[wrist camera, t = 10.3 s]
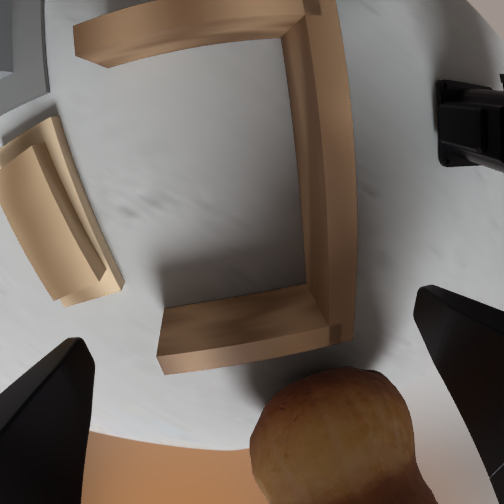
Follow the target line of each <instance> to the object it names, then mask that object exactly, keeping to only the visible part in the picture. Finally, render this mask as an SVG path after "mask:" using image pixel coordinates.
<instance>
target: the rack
mask: <svg viewBox="0 0 504 504" xmlns="http://www.w3.org/2000/svg"><path fill="white" fill-rule="evenodd" d="M73 33H74V46H75V56H77V57H80V58H83V59H86V60H88V61H91V62H93V63H96V64H99V65H101V66H104V67H106V68H110V67H114V66H117V65H120V64H124V63H127V62H131V61H135V60H138V59H142V58H146V57H150V56H155V55H159V54H163V53H168V52H173V51H178V50H183V49H188V48H194V47H200V46H206V45H212V44H219V43H227V42H235V41H245V40H255V39H269V38H281V41H282V48H283V55H284V61H285V68H286V75H287V83H288V90H289V98H290V106H291V114H292V122H293V131H294V139H295V149H296V158H297V168H298V178H299V189H300V200H301V212H302V225H303V238H304V252H305V268H306V284H301V285H296V286H291V287H286V288H281V289H276V290H270V291H265V292H260V293H254V294H249V295H243V296H237V297H232V298H226V299H220V300H214V301H208V302H202V303H196V304H190V305H184V306H178V307H171V308H165V309H164V313H163V319H162V325H161V331H160V337H159V343H158V349H157V356H156V357H157V359H158V362H159V364H160V366H161V368H162V371H163V373H164V375H168V374H177V373H185V372H193V371H200V370H207V369H214V368H220V367H227V366H233V365H239V364H245V363H250V362H256V361H261V360H266V359H272V358H277V357H282V356H286V355H291V354H296V353H300V352H305V351H309V350H314V349H318V348H322V347H326V346H330V345H334V344H338V343H342V342H346V341H350V340H353V331H354V316H355V298H356V274H357V190H356V166H355V148H354V134H353V122H352V111H351V101H350V91H349V83H348V75H347V67H346V60H345V53H344V46H343V40H342V34H341V28H340V22H339V17H338V11H337V6H336V1H335V0H155V1H151V2H147V3H143V4H139V5H135V6H132V7H128V8H125V9H121V10H118V11H114V12H111V13H108V14H105V15H102V16H99V17H96V18H93V19H91V20H88V21H85V22H82V23H80V24H77V25H75V26H73Z"/></svg>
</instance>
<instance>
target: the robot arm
mask: <svg viewBox="0 0 504 504" xmlns="http://www.w3.org/2000/svg"><path fill="white" fill-rule="evenodd" d="M499 75H500V80H501V83H503V89H504V74H499ZM442 84H443V85H444V88H443V87H442ZM436 87H437V99H438V115H439V147H440V163H441V165H442V166H445V167H458V166H478V165H483V166H486V167H489V168H492V169H494V170H497V171H500V172H503V173H504V91H497V90H493V89H492V88H490V87H485V86H480V85H474V84H469V83H463V82H457V81H451V80H438V81H437V83H436ZM446 158H447V160H446V162H445V159H446ZM413 316H414V320H415V322H416V325H417V327H418V329H419V331H420V333H421V336H422V338H423V340H424V342H425V344H426V347H427V349H428V351H429V354H430V356H431V358H432V360H433V362H434V364H435V366H436V368H437V370H438V372H439V374H440V375H441V377H442V379H443V381H444V383H445V385H446V386H447V389H448V390H449V392H450V394H451V396H452V398H453V400H454V402H455V404H456V406H457V408H458V410H459V412H460V414H461V416H462V418H463V420H464V422H465V424H466V426H467V428H468V430H469V432H470V435H471V437H472V439H473V441H474V443H475V445H476V448H477V450H478V452H479V454H480V457H481V459H482V461H483V463H484V466H485V468H486V471H487V473H488V476H489V477H490V481H491V483H492V486H493V489H494V491H495V494H496V496H497V499H498V502H499V504H504V311H501V310H499V309H496V308H493V307H491V306H488V305H486V304H483V303H480V302H478V301H475V300H473V299H470V298H467V297H465V296H462V295H459V294H457V293H454V292H451V291H449V290H446V289H443V288H440V287H438V286H435V285H427V286H423V287H420V288H419V290H418V292H417V297H416V302H415V307H414V312H413ZM94 375H95V363H94V360H93V358H92V356H91V354H90V352H89V350H88V348H87V346H86V344H85V342H84V340H83V339H82V338H80V337H75V338H67V339H66V340H65V341H63V342H62V343H61V344H60V345H58V346H57V347H56V348H55V349H53V350H52V351H51V352H50V353H48V354H47V355H46V356H45V357H44V358H42V359H41V360H40V361H39V362H37V363H36V364H35V365H34V366H33V367H31V368H30V369H29V370H28V371H27V372H25V373H24V374H23V375H22V376H21V377H19V378H18V379H17V380H16V381H15V382H14V383H12V384H11V385H10V386H9V387H8V388H7V389H5V390H4V391H3V392H2V393H1V394H0V504H81V494H82V483H83V473H84V464H85V456H86V448H87V440H88V434H89V428H90V421H91V413H92V399H93V386H94Z"/></svg>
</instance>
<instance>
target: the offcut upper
mask: <svg viewBox="0 0 504 504" xmlns="http://www.w3.org/2000/svg"><path fill="white" fill-rule="evenodd" d="M0 204H1V207H2V209H3V211H4V213H5V215H6V217H7V219H8V221H9V223H10V226H11V228H12V230H13V231H14V233H15V235H16V237H17V239H18V241H19V243H20V245H21V247H22V249H23V250H24V252H25V254H26V256H27V258H28V259H29V261H30V263H31V265H32V266H33V268H34V270H35V272H36V273H37V275H38V277H39V278H40V280H41V281H42V283H43V285H44V286H45V288H46V289H47V291H48V293H49V294H50V296H51V297H52V299H53V300H54V301H55V300H57V299H60V298H62V297H64V296H67V295H69V294H72V293H74V292H76V291H79V290H81V289H84V288H86V287H88V286H91V285H93V284H96V283H98V282H100V280H101V278H102V276H103V275H104V273H105V271H106V268H105V266H104V264H103V263H102V261H101V259H100V257H99V255H98V254H97V252H96V250H95V248H94V246H93V244H92V243H91V241H90V239H89V237H88V235H87V233H86V231H85V229H84V227H83V225H82V223H81V221H80V219H79V217H78V215H77V213H76V211H75V209H74V207H73V205H72V203H71V201H70V199H69V197H68V195H67V193H66V190H65V188H64V186H63V184H62V182H61V179H60V177H59V175H58V173H57V170H56V168H55V166H54V163H53V161H52V159H51V156H50V154H49V151H48V149H47V146H46V144H45V142H43V143H40V144H36V145H32V146H31V147H29V148H28V149H26V150H25V151H24V152H22V153H21V154H20V155H18V156H17V157H16V158H14V159H13V160H12V161H10V162H9V163H8V164H6V165H5V166H4V167H3V168H1V169H0Z"/></svg>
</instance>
